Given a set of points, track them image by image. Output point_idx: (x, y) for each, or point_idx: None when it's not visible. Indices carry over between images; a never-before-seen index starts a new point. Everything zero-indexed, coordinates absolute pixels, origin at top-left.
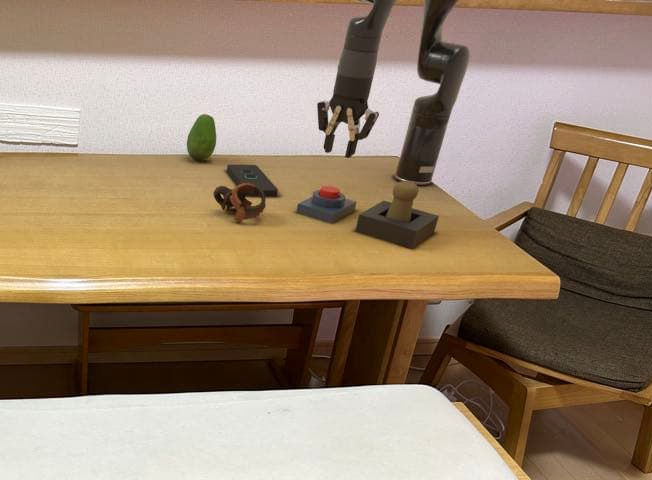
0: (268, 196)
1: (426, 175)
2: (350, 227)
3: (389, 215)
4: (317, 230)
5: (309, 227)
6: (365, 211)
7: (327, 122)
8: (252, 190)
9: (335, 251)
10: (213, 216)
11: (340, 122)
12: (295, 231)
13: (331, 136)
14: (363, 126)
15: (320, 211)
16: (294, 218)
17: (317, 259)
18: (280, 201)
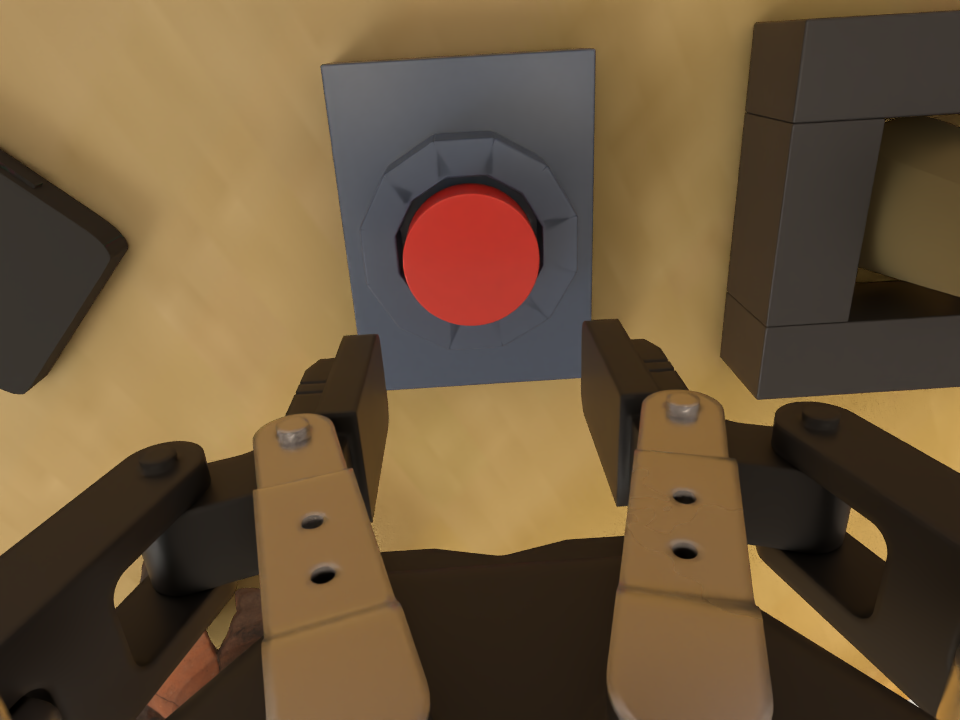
0: (103, 284)
1: None
2: (679, 323)
3: (914, 281)
4: (575, 476)
5: (529, 474)
6: (772, 334)
7: (167, 521)
8: (206, 634)
9: None
10: None
11: (353, 471)
12: (511, 552)
13: (369, 498)
14: (882, 666)
15: (510, 379)
16: (415, 436)
17: None
18: (198, 287)
